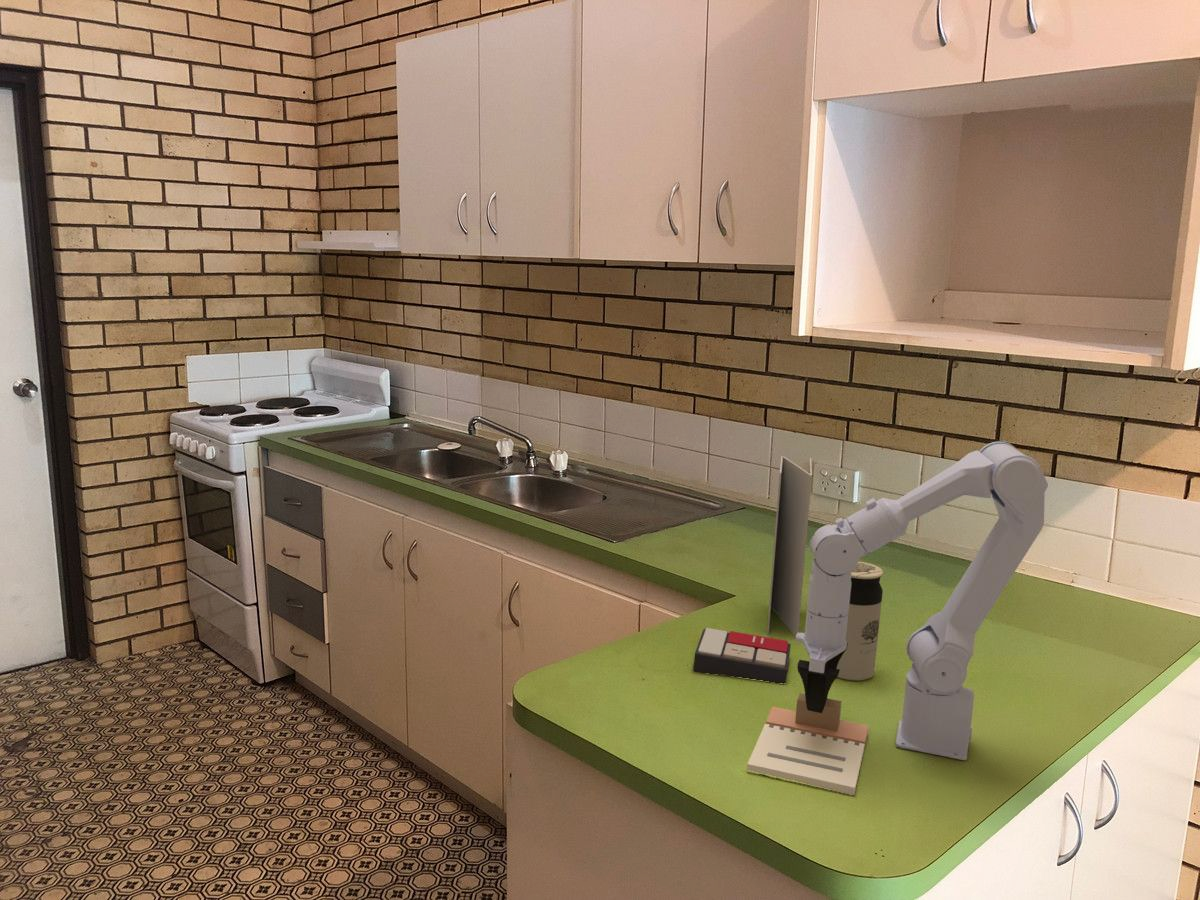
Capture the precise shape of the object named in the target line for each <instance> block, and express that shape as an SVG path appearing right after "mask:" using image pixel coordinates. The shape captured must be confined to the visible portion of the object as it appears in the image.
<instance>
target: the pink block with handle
mask: <svg viewBox="0 0 1200 900" xmlns="http://www.w3.org/2000/svg"><path fill="white" fill-rule="evenodd" d="M842 702H843V701H842V700H838V699H837V700H836V699H832V698H827V700H826V704H825V707H824V709H823V712H822V713H818V712H813V711H808V710H807V706H806V699H805V693H800V692H799V694H798V698H797V700H796V708H795V709H796V710H791V709H786V708H781V707H776V706H772V707H771V708H770V711H769V714H768V716H767V718H766V720H765V724H769V725H774V726H779V727H784V728H789V729H794V730H799V731H804V732H808V733H813V734H818V735H823V736H828V737H833V738H838V739H843V740H847V741H852V742H857V743H862V744H865V746H864V750H865V748H866V744H867V743H866V742H867V739H868V734H869V727H870V726H869V725H867V724H861V723H857V722H852V721H846V720H842V719H841V712H842V711H841V710H842Z"/></svg>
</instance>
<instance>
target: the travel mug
mask: <svg viewBox="0 0 1200 900" xmlns="http://www.w3.org/2000/svg"><path fill="white" fill-rule="evenodd" d="M883 575H884V571H883V569H881V567H879V566H877V565H875V564H872V563H868V562H864V561H863V562H862V561H858V564H857V566H856V567H855V568H854V570H853V571H852V573H851V593H850V602H849V612H848V622H847V632H846V642H847V643H848V646H847V649H846V651H845V652H844V654H843V655H842V657H841V658H840V660H839V663H838V665H837V668H836V669H840V671H839V674H838V676H837V678H839V679H842V680H846V681H851V682H852V681H854V682H855V681H856V682H857V681H858V682H859V681H864V680H868V679H871V678H872V677H873V676H874V675H875V667H876V658H877V652H878V651H877V649H878V641H879V640H878V639H879V632H880V631H879V630H880V622H881V620H880V619H881V612H882V603H883V602H882V601H883V593H884V592H883V591H884V590H883V588H882V586H881V585H882V584H881V583H880V581H881V577H882V576H883Z"/></svg>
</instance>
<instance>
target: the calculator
mask: <svg viewBox="0 0 1200 900" xmlns="http://www.w3.org/2000/svg"><path fill="white" fill-rule="evenodd" d="M791 646H792V645H791V643H789V641H788V640H784V639H778V638H774V637H767V636H761V635H756V634H752V633H744V632H739V631H732V630H730V632H728V631H727V630H721V629H716V628H710V627H706V628H704V629H703V630H702V632H701V636H700V638H699V641H698V644H697V646H696V649H695V652H694V658H693V659H694V660H693V666H692V671H693V672H694V673H698V672H699V673H700V674H705V673H709V674H708V675H712V674H718V675H717V676H721V675H722V676H725V677H726V676H727V677H731V676H734V677H733V678H737V677H742V678H749V679H756V680H763V681H769V682H768V683H770V682H775V683H774V684H777V683H783V684H782V685H785V684H784V683H787V677H788V669H789V663H790V662H789V661H790V654H791ZM742 678H741V679H742ZM749 679H748V680H749ZM756 680H755V681H756ZM763 681H762V682H763Z"/></svg>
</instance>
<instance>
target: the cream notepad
mask: <svg viewBox="0 0 1200 900" xmlns="http://www.w3.org/2000/svg"><path fill="white" fill-rule="evenodd" d="M864 746H865V747H866V744H862V743H857V742H852V741H847V740H843V739H838V738H833V737H828V736H823V735H818V734H813V733H808V732H804V731H799V730H794V729H789V728H784V727H779V726H774V725H769V724H766V723H765V724H764V726H763V728H762V730H761V733H760V734H759V737H758V739H757V742H756V744H755V746H754V748H753V751H752V753H751V755H750V758H749V759H748V762H747V765H746V771H747V770H751V771H754V772H758V773H763V774H769V775H772V776H776V777H781V778H785V779H789V780H795V781H798V782H803V783H806V784H810V785H815V786H819V787H822V788H827V789H830V790H835V791H839V792H842V793H841V794H843V793H846V794H845V795H847V794H849V795H848V796H852V795H854V796H855V795H856V790H857V786H858V781H859V777H858V776H860V772H859V771H861V766H862V763H861V762H862V761H863V758H864V754H863V753H865V749H864ZM862 757H863V758H862ZM857 780H858V781H857ZM856 785H857V786H856ZM830 790H829V791H830ZM839 792H838V793H839Z"/></svg>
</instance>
